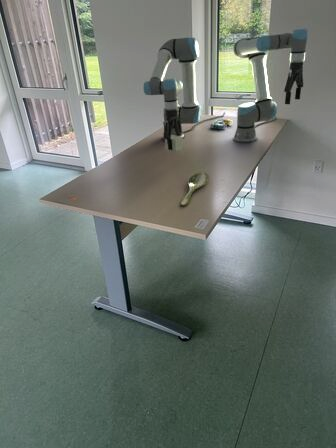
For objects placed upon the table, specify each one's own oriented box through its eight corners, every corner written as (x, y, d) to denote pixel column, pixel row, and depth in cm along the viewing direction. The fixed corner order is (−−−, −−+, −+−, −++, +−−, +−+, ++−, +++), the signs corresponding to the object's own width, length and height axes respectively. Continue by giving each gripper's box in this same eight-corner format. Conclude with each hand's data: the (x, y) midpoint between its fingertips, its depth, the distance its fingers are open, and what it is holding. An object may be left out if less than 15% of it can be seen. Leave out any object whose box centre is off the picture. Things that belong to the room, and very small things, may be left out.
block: (172, 146, 207) (171, 134, 203) (183, 148, 202) (182, 136, 198) (165, 149, 203) (164, 137, 199) (176, 151, 198) (175, 139, 194)
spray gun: (235, 122, 269) (217, 122, 276) (235, 117, 267) (217, 117, 273) (227, 130, 254) (208, 130, 260) (227, 125, 252) (208, 124, 258)
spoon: (193, 209, 156) (193, 205, 155) (172, 207, 159) (171, 203, 158) (212, 175, 182) (212, 172, 181) (193, 174, 186) (193, 170, 184)
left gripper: (177, 104, 198) (179, 142, 210) (155, 111, 186) (158, 151, 198) (187, 105, 194) (188, 144, 206) (165, 113, 182) (168, 153, 194)
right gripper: (299, 58, 194) (295, 96, 205) (280, 64, 178) (276, 105, 189) (312, 58, 189) (307, 97, 200) (293, 64, 174) (289, 106, 185)
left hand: (174, 147), depth 202 cm, fingers closed on block, 7 cm apart
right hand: (292, 101), depth 195 cm, fingers open, 13 cm apart
